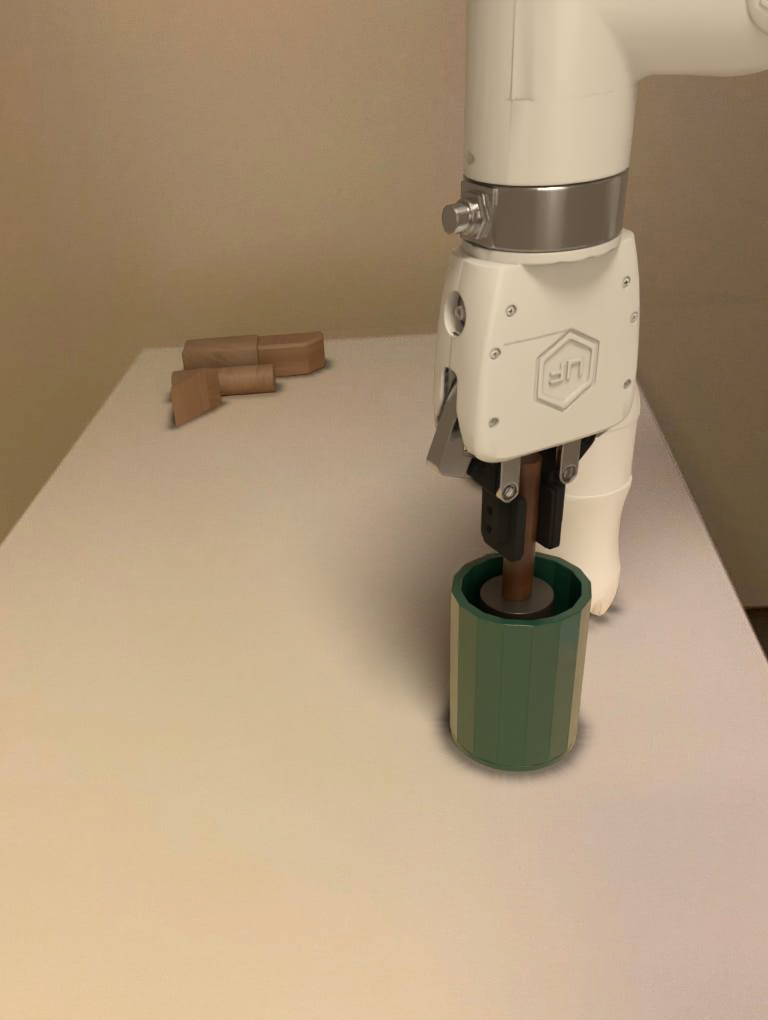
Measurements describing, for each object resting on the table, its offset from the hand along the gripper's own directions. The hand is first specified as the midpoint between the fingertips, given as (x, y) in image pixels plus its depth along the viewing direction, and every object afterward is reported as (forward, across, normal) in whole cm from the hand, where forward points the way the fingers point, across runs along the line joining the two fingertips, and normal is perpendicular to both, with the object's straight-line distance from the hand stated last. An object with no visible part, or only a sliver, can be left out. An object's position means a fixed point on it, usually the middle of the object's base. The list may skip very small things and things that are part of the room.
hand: (520, 542), depth 58 cm
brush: (+11, 0, 0) cm, 11 cm away
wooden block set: (+15, +9, +65) cm, 67 cm away
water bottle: (+15, +13, +10) cm, 22 cm away
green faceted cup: (+15, 0, 0) cm, 15 cm away
